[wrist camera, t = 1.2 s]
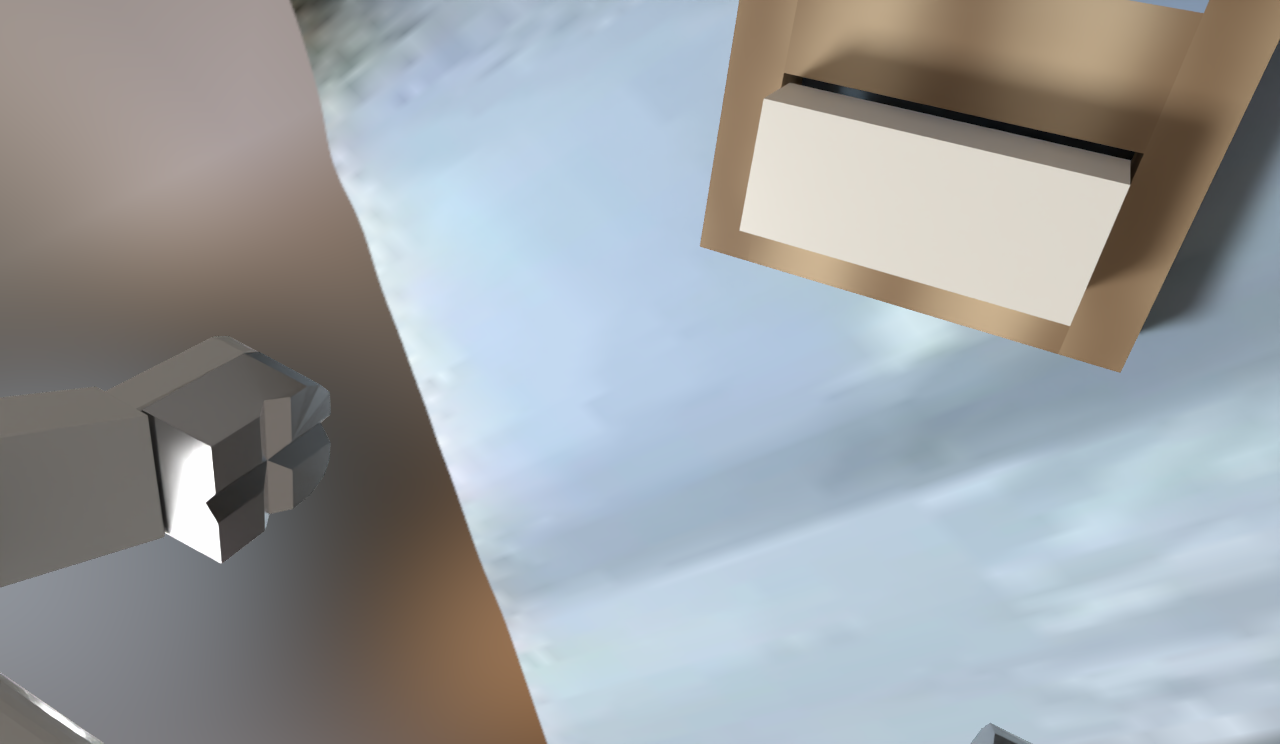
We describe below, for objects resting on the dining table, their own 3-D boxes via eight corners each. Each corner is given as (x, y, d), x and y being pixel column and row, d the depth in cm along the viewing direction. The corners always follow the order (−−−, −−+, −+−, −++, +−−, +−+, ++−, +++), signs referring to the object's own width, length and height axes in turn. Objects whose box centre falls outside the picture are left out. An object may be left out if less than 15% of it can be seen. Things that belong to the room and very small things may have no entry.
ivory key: (1130, 160, 29) (1130, 185, 27) (1074, 293, 32) (1069, 326, 30) (789, 82, 33) (763, 98, 31) (765, 207, 36) (739, 230, 34)
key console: (1412, -284, 24) (1442, -301, 22) (1121, 339, 35) (1120, 372, 33) (821, -327, 30) (794, -344, 27) (725, 224, 40) (700, 246, 38)
